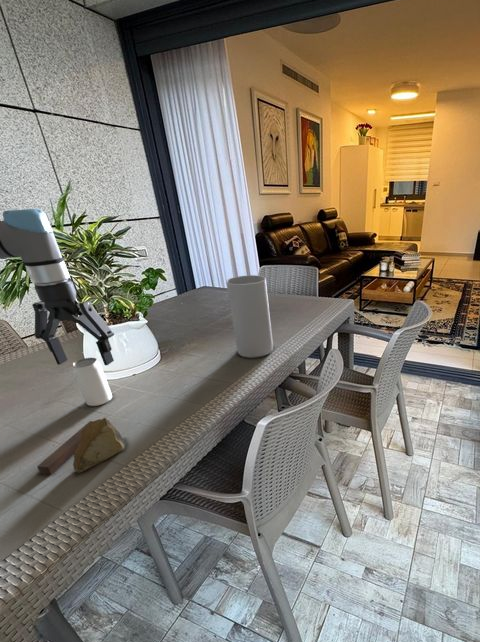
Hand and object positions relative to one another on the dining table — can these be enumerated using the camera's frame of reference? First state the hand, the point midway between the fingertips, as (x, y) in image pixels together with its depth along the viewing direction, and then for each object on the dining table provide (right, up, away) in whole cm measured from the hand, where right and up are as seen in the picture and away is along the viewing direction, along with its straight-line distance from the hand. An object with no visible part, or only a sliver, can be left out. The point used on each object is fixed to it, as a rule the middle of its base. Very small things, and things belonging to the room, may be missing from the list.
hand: (85, 362), depth 93 cm
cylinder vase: (+39, +5, +32) cm, 51 cm away
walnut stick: (+6, -20, -13) cm, 25 cm away
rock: (+14, -22, -15) cm, 30 cm away
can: (0, -11, +6) cm, 12 cm away
